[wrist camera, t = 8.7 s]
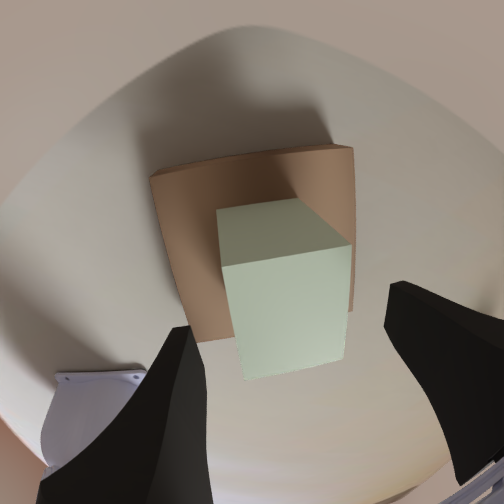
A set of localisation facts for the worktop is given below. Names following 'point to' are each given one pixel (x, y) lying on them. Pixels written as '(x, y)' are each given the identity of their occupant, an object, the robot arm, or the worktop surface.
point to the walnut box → (238, 194)
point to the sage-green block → (284, 286)
